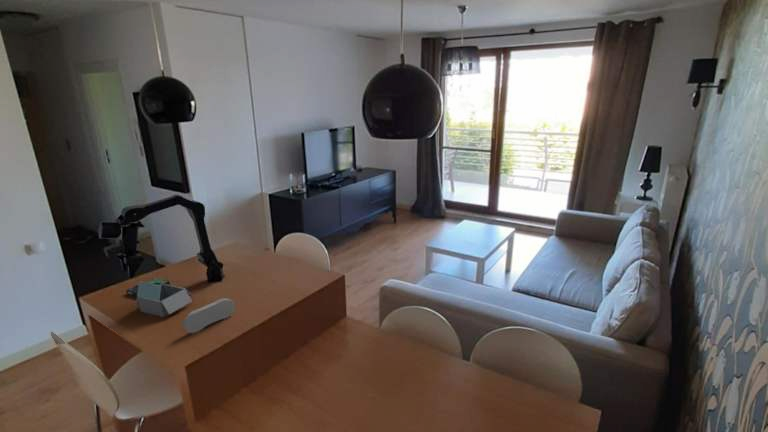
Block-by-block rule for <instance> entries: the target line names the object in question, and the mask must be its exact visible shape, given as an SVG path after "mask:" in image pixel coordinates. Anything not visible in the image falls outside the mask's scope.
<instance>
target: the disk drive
mask: <svg viewBox="0 0 768 432" xmlns="http://www.w3.org/2000/svg"><path fill="white" fill-rule="evenodd" d="M146 282H147V283H151V284H156V285H161V284H168V285H171V282H170V280H168V279H164V278H160V277H155V278H152V279H150V280H147V281H146ZM125 292H126V295H128V296H130V297H133V298H136V299H137V293H138V284H137V285H135V286H132V287H130V288H128V289H126V291H125Z"/></svg>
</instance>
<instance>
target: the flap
mask: <svg viewBox="0 0 768 432" xmlns="http://www.w3.org/2000/svg"><path fill="white" fill-rule="evenodd" d="M137 285H138V293H137V296H140V297H145V298H149V299H153V300H157V301H159V300H160V291H161V286H160V285H156V284H151V283H147V281H142V280H141V281H139V280H138V284H137Z"/></svg>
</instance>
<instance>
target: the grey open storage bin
mask: <svg viewBox="0 0 768 432" xmlns="http://www.w3.org/2000/svg"><path fill="white" fill-rule="evenodd" d="M160 286H161V291H160V300H159V301H157V300H153V299H149V298H145V297H140V296H137V298H136V301H135V302H136V303H135V306H136V307H138V306H139V311H140V312H141V313H145V314H148V315H153V316H156V317H160V318H163V319H164V318H166V317H167V316H169V315H171V314H173V313H175V312H176V311H178V310H180V309H182V308H183V307H185V306H187V305H188V304H191V303H192V302H193V300H192V298H191V297H194V295H193V294H192V293H191V292H190V291H189V290H188V289H187V288H185V287H183V286H178V285H172V284H170V285H168V284H161V285H160Z"/></svg>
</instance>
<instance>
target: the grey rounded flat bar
mask: <svg viewBox="0 0 768 432" xmlns="http://www.w3.org/2000/svg"><path fill="white" fill-rule="evenodd" d="M234 311H235V302H233V300H231V299H229V298H226V297H225V298H220V299H218V300H216V301H214V302H212V303H208V304H207V305H204V306H203V307H200V308H197V309H195V310H193V311H190V312H189V313H187V315H185V318H184V319H183V323H182V326H183V329H184V330H185V331H186V332H188V333H189V334H195V333H194V332H197V331H199V330H201V331H202V330H203V329H204V328H205V327H208V326H209V325H212V324H213V323H216V322H218V321H220V320H222V319H224V320H226V319H225V318H226V317H229V316H230V317H231V316H232V315H233V314H234ZM230 317H229V318H230ZM199 332H200V331H199ZM197 333H198V332H197Z"/></svg>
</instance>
